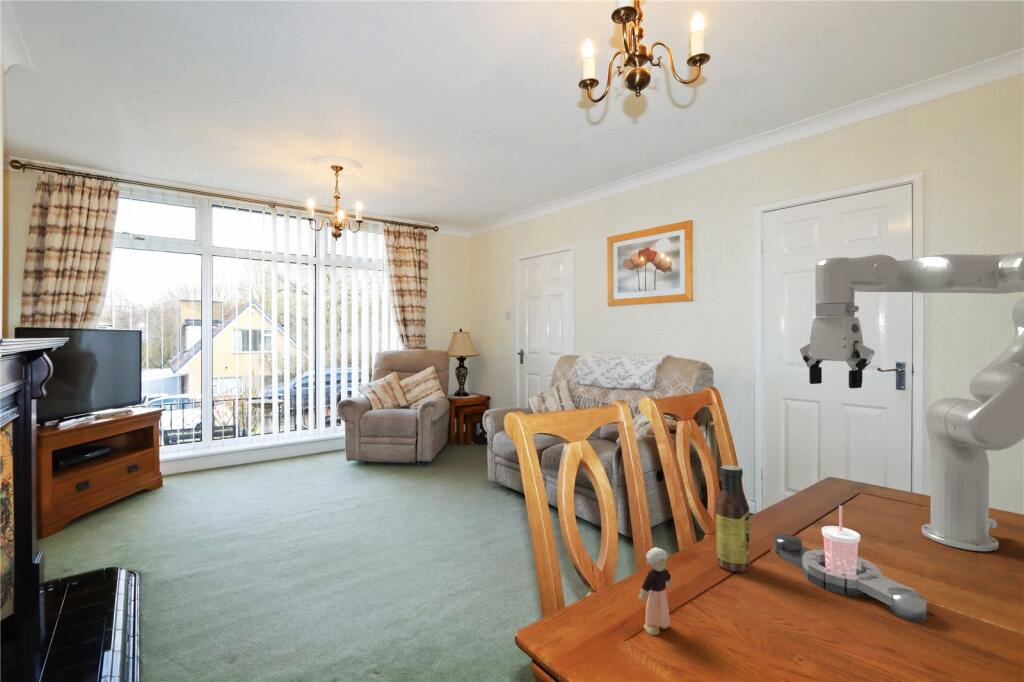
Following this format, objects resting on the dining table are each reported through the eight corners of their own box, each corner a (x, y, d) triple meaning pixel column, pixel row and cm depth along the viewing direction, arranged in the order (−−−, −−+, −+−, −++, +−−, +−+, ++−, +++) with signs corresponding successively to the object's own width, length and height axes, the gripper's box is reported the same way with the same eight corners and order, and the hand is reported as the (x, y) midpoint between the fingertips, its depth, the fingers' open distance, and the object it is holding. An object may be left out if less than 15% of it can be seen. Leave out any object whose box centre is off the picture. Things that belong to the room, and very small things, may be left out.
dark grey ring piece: (799, 544, 106) (799, 530, 106) (896, 589, 87) (896, 573, 87) (756, 552, 102) (756, 538, 102) (847, 602, 83) (847, 585, 83)
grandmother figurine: (658, 642, 73) (657, 560, 73) (635, 632, 76) (634, 552, 76) (679, 620, 79) (679, 543, 79) (657, 611, 81) (657, 536, 81)
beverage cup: (868, 584, 89) (868, 509, 89) (845, 590, 87) (845, 513, 87) (836, 569, 95) (836, 498, 95) (814, 574, 93) (813, 502, 93)
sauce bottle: (754, 575, 93) (754, 473, 93) (720, 572, 94) (719, 471, 94) (745, 559, 99) (744, 464, 99) (713, 557, 101) (712, 462, 100)
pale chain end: (833, 560, 98) (833, 545, 98) (948, 614, 79) (948, 596, 79) (788, 569, 95) (788, 554, 95) (897, 629, 76) (897, 610, 76)
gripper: (885, 310, 104) (885, 389, 104) (813, 313, 120) (813, 381, 121) (860, 310, 102) (860, 390, 102) (789, 313, 118) (790, 382, 118)
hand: (834, 385), depth 111 cm, fingers open, 9 cm apart
